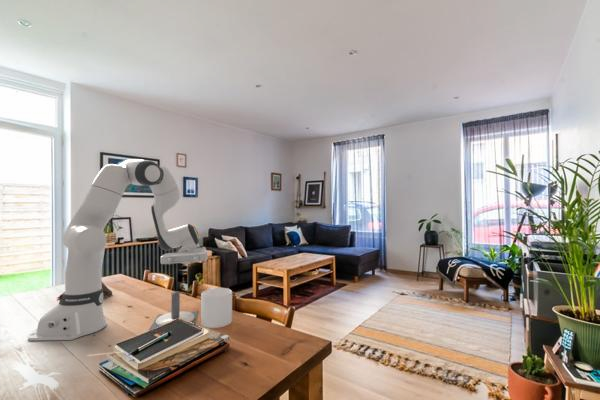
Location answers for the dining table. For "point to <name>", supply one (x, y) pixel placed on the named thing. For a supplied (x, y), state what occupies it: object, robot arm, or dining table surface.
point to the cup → (216, 307)
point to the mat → (163, 314)
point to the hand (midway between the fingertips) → (181, 261)
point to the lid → (174, 312)
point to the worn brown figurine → (106, 291)
